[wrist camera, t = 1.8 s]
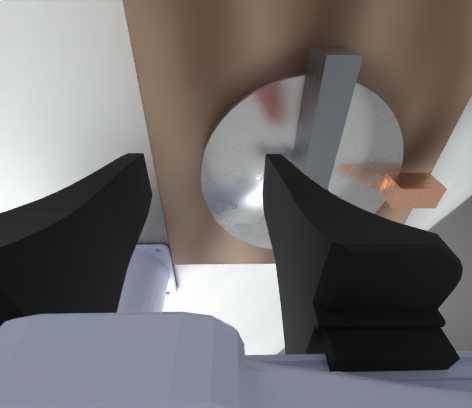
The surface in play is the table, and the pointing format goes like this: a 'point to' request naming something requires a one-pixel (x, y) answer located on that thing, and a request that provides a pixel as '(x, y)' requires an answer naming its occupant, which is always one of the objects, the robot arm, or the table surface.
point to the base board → (278, 65)
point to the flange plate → (276, 137)
